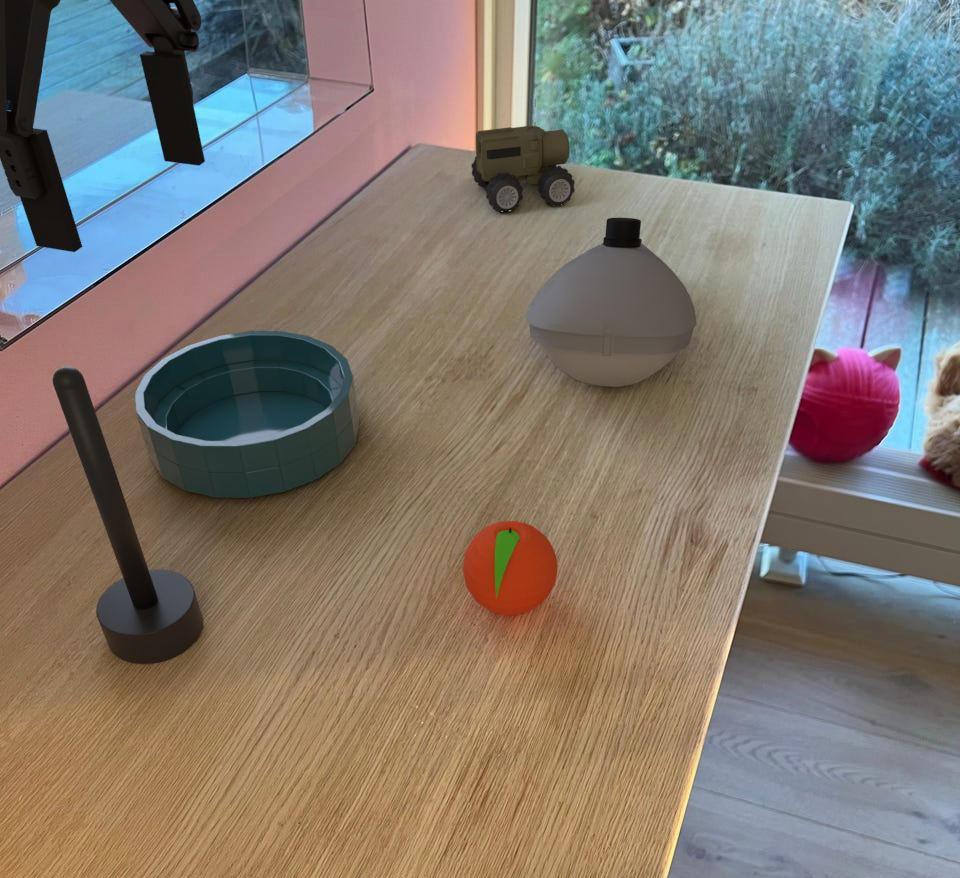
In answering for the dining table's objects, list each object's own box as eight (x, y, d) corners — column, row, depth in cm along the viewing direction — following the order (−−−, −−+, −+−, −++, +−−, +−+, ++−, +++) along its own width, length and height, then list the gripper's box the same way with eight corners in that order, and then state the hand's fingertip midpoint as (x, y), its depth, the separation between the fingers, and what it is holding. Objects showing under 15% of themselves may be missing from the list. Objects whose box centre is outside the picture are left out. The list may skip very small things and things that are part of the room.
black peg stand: (88, 651, 76) (-23, 388, 60) (142, 589, 80) (52, 331, 65) (169, 674, 74) (77, 409, 58) (220, 610, 78) (147, 349, 63)
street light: (689, 415, 90) (709, 244, 83) (511, 403, 92) (517, 236, 85) (686, 342, 116) (701, 208, 109) (547, 334, 118) (554, 202, 111)
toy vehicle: (470, 185, 134) (466, 84, 125) (552, 174, 136) (554, 74, 127) (490, 218, 127) (488, 113, 118) (577, 206, 128) (581, 103, 120)
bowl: (110, 480, 91) (90, 422, 86) (221, 374, 103) (208, 318, 98) (299, 524, 86) (288, 464, 81) (392, 406, 98) (386, 349, 93)
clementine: (545, 651, 74) (546, 577, 69) (451, 638, 76) (446, 564, 71) (563, 578, 80) (566, 505, 75) (475, 567, 81) (473, 494, 76)
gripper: (-119, -202, 41) (51, 299, 56) (211, -265, 57) (274, 137, 72) (-260, -205, 43) (-59, 280, 58) (98, -265, 59) (182, 126, 74)
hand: (126, 201), depth 65 cm, fingers open, 13 cm apart
